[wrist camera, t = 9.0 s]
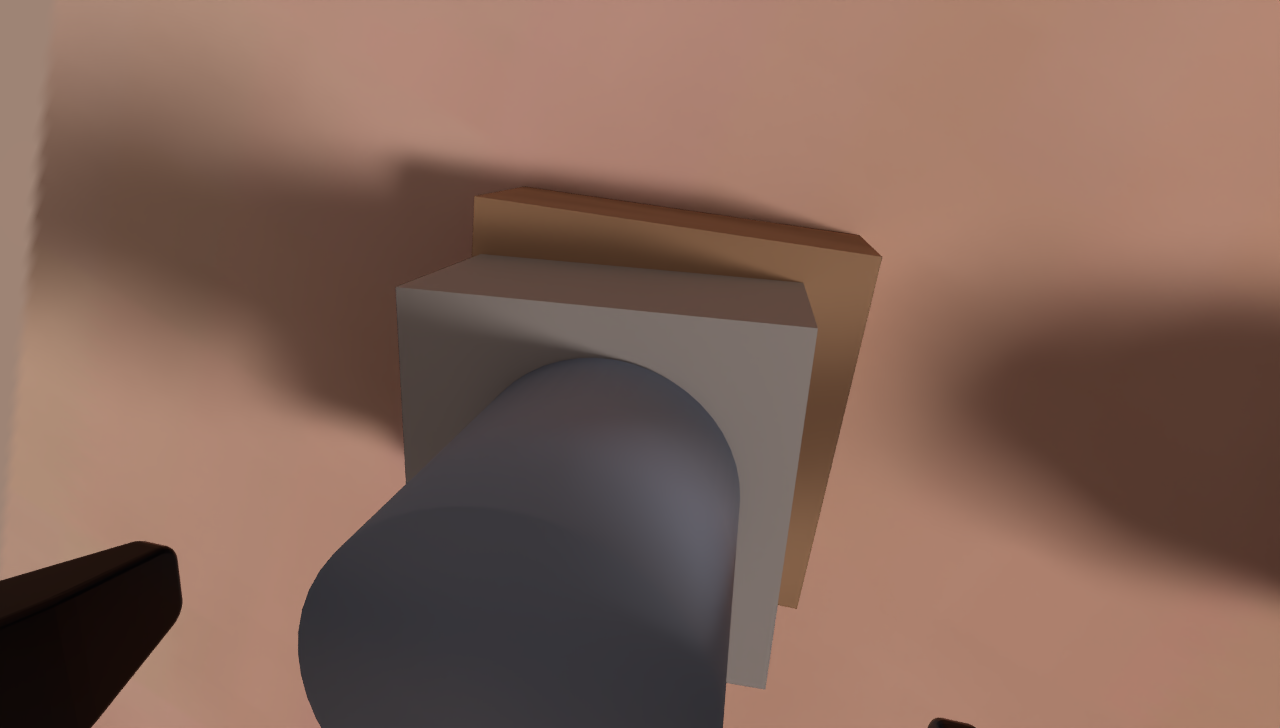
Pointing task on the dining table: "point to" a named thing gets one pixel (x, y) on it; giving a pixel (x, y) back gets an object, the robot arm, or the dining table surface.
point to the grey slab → (638, 334)
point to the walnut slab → (727, 247)
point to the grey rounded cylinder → (541, 569)
